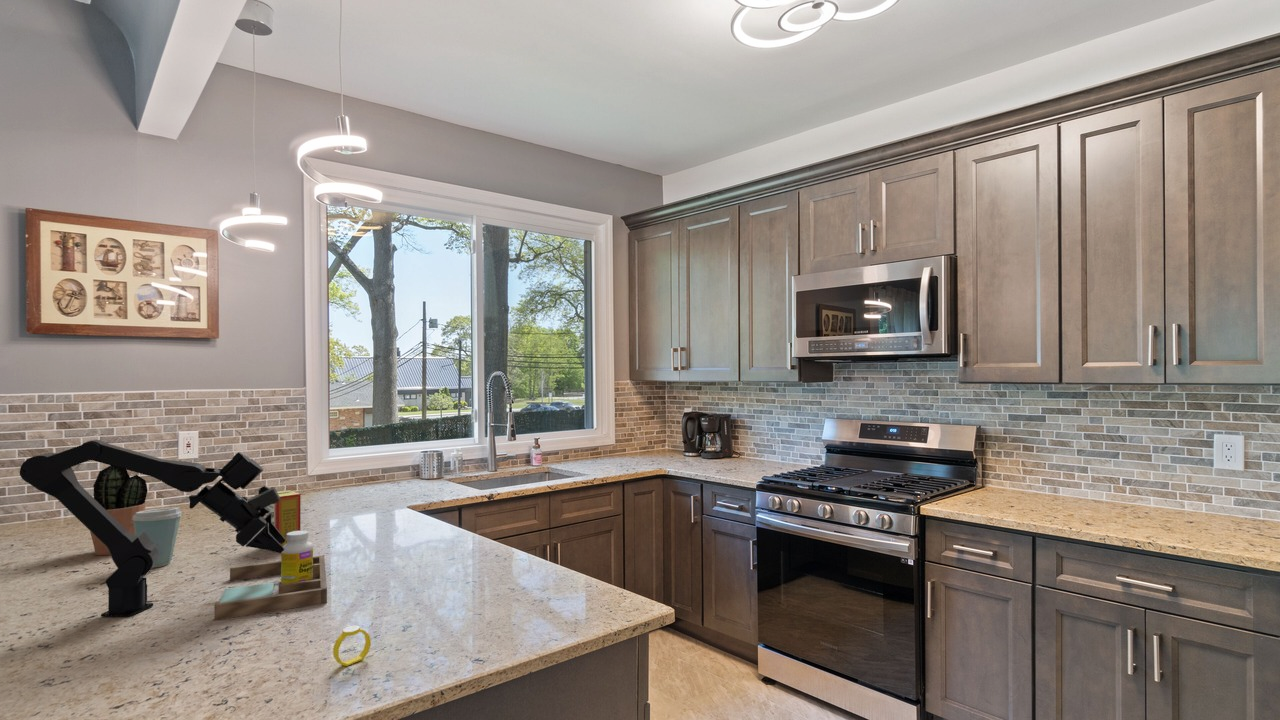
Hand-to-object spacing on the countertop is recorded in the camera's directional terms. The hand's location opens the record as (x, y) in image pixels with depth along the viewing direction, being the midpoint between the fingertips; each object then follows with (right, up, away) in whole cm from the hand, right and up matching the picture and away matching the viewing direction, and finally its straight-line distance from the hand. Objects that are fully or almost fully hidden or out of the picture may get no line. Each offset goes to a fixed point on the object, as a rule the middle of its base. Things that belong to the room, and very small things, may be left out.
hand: (283, 546), depth 150 cm
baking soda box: (-21, -11, +37) cm, 44 cm away
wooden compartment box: (-2, -10, -1) cm, 10 cm away
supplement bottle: (+3, -10, +1) cm, 11 cm away
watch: (+34, -9, -39) cm, 53 cm away
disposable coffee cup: (-45, -11, +21) cm, 51 cm away
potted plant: (-68, -12, +35) cm, 77 cm away
